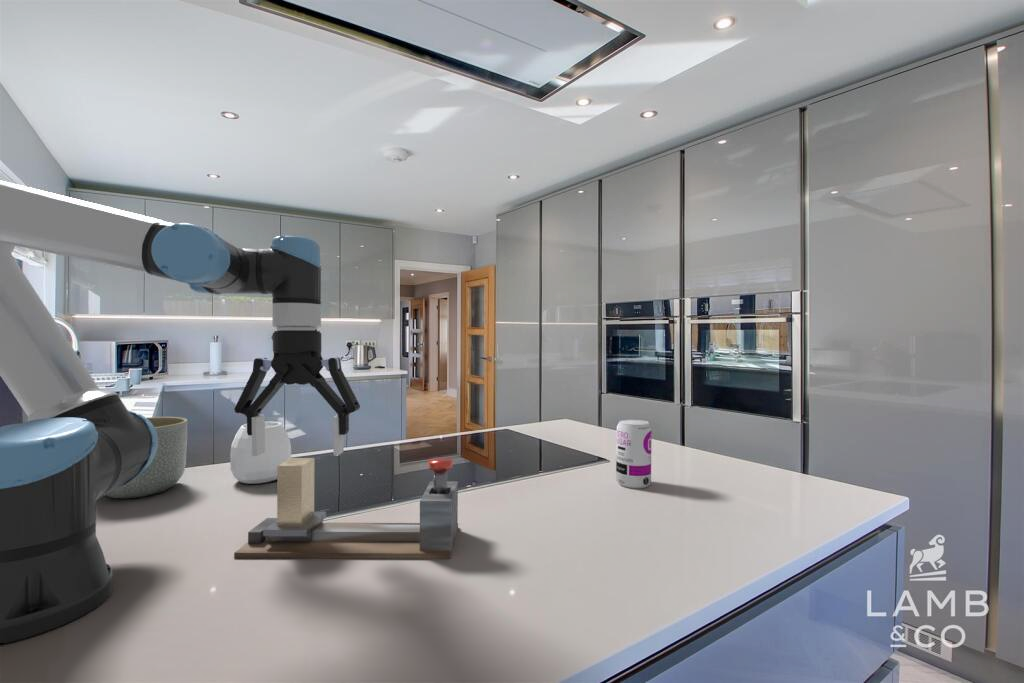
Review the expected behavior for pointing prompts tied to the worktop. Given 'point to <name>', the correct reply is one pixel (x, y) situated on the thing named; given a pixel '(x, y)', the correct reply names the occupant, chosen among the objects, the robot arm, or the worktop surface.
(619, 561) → the worktop surface
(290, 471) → the carriage
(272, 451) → the white vase
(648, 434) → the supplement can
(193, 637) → the worktop surface
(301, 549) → the rail deck
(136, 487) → the planter
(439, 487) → the red mushroom button
